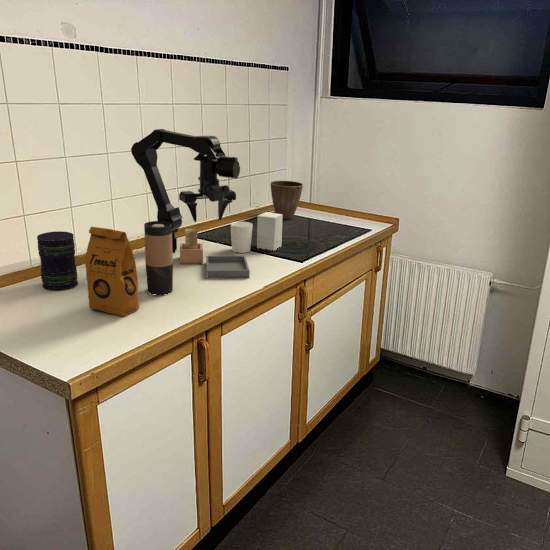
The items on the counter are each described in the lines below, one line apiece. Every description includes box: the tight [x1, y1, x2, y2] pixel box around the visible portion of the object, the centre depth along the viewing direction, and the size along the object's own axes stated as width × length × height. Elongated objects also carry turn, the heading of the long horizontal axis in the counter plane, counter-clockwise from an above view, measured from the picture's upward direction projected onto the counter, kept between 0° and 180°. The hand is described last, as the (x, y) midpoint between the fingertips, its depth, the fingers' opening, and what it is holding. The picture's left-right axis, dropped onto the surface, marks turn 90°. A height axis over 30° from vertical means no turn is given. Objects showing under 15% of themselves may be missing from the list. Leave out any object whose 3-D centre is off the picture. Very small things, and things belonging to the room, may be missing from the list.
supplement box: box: [256, 211, 283, 252], centre depth 200 cm, size 7×7×13 cm
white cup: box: [230, 221, 253, 254], centre depth 195 cm, size 8×8×10 cm
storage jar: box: [36, 230, 79, 292], centre depth 154 cm, size 10×10×15 cm
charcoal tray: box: [205, 255, 251, 279], centre depth 175 cm, size 13×15×2 cm
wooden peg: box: [184, 228, 198, 249], centre depth 181 cm, size 4×4×10 cm
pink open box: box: [179, 242, 204, 265], centre depth 182 cm, size 8×8×5 cm
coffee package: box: [84, 226, 140, 318], centre depth 138 cm, size 10×12×22 cm
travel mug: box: [143, 220, 174, 296], centre depth 152 cm, size 8×8×20 cm
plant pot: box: [269, 180, 304, 220], centre depth 246 cm, size 15×15×16 cm
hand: (207, 220), depth 183 cm, fingers open, 9 cm apart
